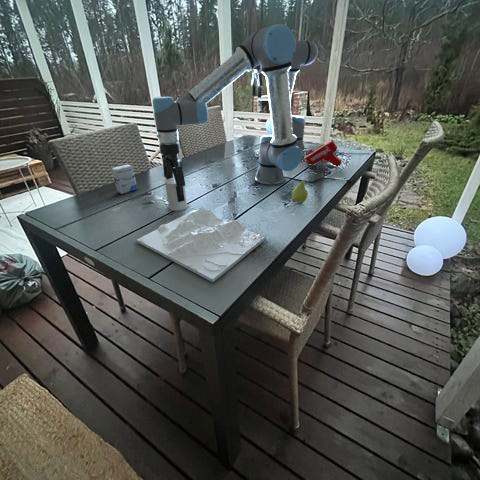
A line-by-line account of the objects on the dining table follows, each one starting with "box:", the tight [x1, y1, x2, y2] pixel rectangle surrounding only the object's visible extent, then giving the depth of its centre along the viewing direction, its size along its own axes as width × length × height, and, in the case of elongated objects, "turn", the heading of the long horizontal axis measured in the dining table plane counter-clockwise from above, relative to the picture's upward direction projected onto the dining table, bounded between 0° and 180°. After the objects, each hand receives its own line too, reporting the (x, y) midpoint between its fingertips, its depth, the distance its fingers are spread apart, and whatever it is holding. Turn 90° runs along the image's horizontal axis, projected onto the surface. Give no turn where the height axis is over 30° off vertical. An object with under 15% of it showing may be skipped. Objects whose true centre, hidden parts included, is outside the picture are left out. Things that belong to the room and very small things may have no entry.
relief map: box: [136, 206, 266, 283], centre depth 93 cm, size 27×35×5 cm
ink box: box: [110, 164, 138, 195], centre depth 131 cm, size 8×5×12 cm, turn 135°
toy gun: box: [304, 139, 342, 169], centre depth 162 cm, size 18×4×15 cm
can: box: [164, 178, 188, 212], centre depth 115 cm, size 8×8×12 cm
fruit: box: [291, 174, 311, 204], centre depth 118 cm, size 7×8×12 cm
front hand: (176, 197), depth 116 cm, fingers closed on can, 8 cm apart
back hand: (256, 96), depth 202 cm, fingers open, 13 cm apart
